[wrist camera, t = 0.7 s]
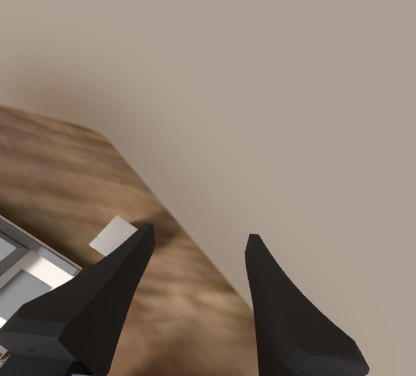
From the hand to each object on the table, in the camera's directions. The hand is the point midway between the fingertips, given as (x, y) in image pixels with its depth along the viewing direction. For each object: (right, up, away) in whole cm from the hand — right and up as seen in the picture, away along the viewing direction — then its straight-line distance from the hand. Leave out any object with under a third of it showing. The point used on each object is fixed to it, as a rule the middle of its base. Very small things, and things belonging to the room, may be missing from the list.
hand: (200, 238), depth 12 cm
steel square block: (-12, -5, +13) cm, 18 cm away
